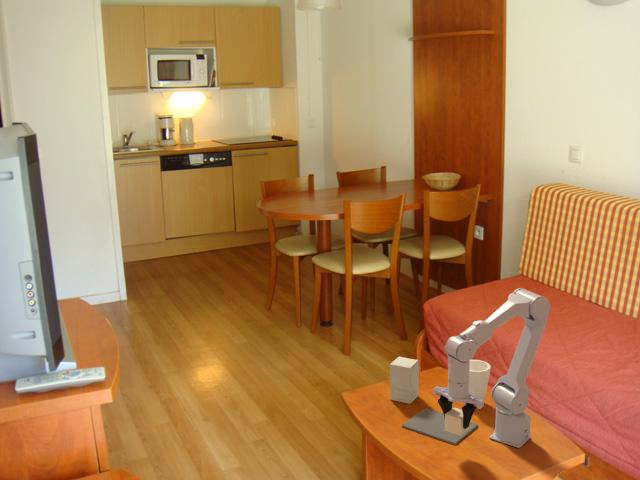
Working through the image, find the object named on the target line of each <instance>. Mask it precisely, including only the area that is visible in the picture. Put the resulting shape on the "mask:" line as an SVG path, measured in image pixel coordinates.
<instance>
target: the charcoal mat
mask: <svg viewBox="0 0 640 480" xmlns="http://www.w3.org/2000/svg"><path fill="white" fill-rule="evenodd" d="M478 426H479V425H478V423H475V422H472V421H470V424H469V429H468V430H467V431H466V432H465V433H463V434H462V435H461V436H460V435H457V434H454V433H451V432H448V431H445V418H444V414H443V412H440V411H437V410H434V409H432V408H427V407H426V408H424V409H422V410H421V411H419V412H418V413H416V414H415V415H414V416H411V418H410V419H408V420H406V421H405V422H404V423H402V424H401V427H402V428H405V429H407V430H410V431H413V432H416V433H418V434H419V433H420V434H422V435H425V436H427V437H430V438H433V439H436V440H439V441H442V442H445V443H447V444H451V445H454V446H456V445H457V444H459V443H460V442H461V441H463V440H464V439H465V438H466V437H467V436H468V435H469V434H471V433H472V432H473V431H474V430H476V429H477V427H478Z"/></svg>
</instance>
